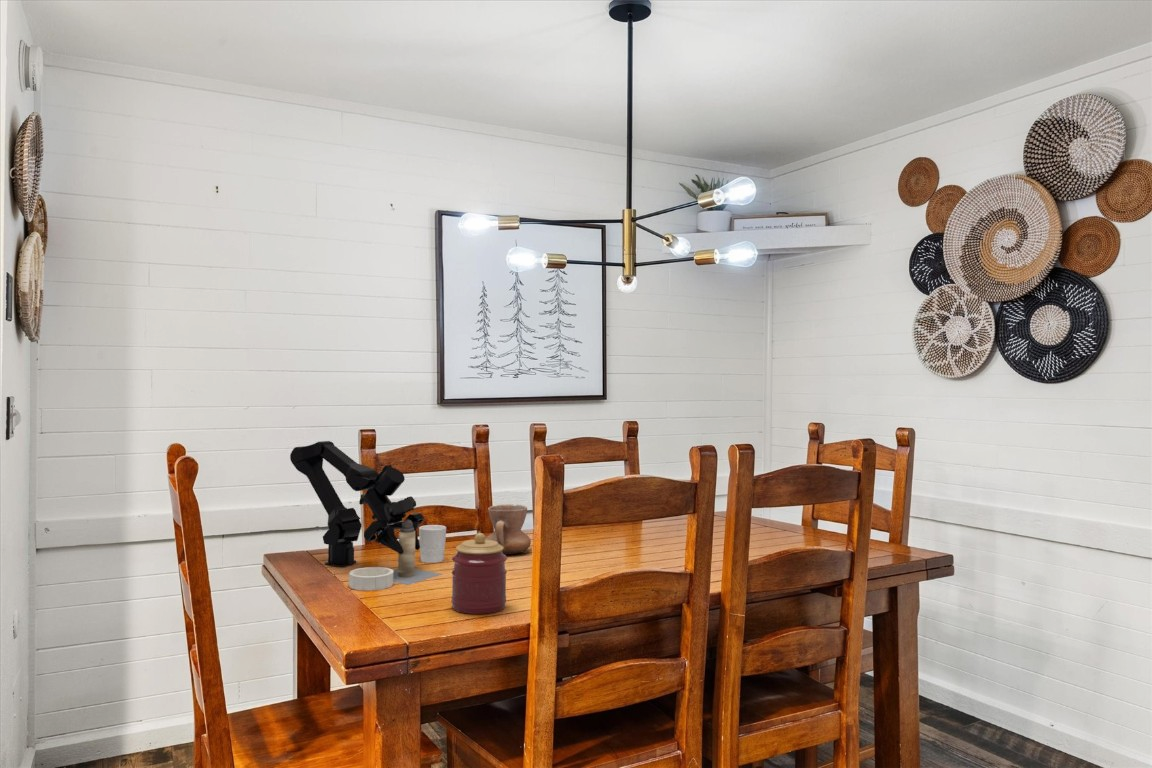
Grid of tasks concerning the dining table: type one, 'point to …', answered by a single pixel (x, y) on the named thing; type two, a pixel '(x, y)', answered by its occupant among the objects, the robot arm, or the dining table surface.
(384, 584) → the bowl
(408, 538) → the pepper mill
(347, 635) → the dining table surface
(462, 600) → the canister
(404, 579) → the felt mat
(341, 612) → the dining table surface
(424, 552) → the white cup
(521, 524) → the ceramic jug
